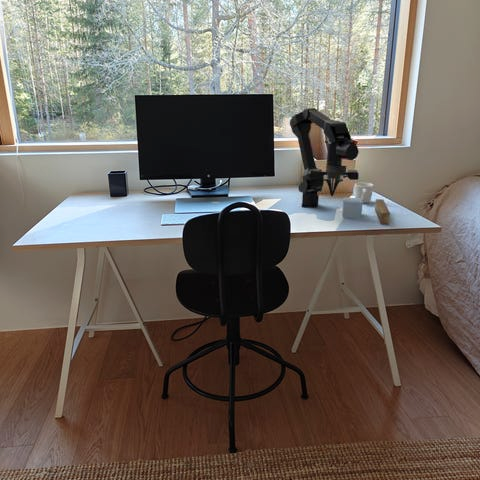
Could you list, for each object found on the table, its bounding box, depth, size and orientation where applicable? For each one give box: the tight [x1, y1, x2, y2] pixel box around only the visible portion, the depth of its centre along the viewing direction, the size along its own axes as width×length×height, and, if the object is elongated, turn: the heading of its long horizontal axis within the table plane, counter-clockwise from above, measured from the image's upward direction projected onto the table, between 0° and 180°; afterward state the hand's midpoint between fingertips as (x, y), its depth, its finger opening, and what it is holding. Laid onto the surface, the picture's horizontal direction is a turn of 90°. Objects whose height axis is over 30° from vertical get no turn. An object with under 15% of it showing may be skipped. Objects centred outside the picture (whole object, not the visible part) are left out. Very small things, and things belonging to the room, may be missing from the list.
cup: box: [354, 181, 375, 204], centre depth 187 cm, size 11×8×8 cm
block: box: [341, 197, 363, 220], centre depth 169 cm, size 7×7×6 cm
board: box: [374, 198, 391, 226], centre depth 167 cm, size 3×20×4 cm, turn 169°
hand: (331, 195), depth 169 cm, fingers closed
